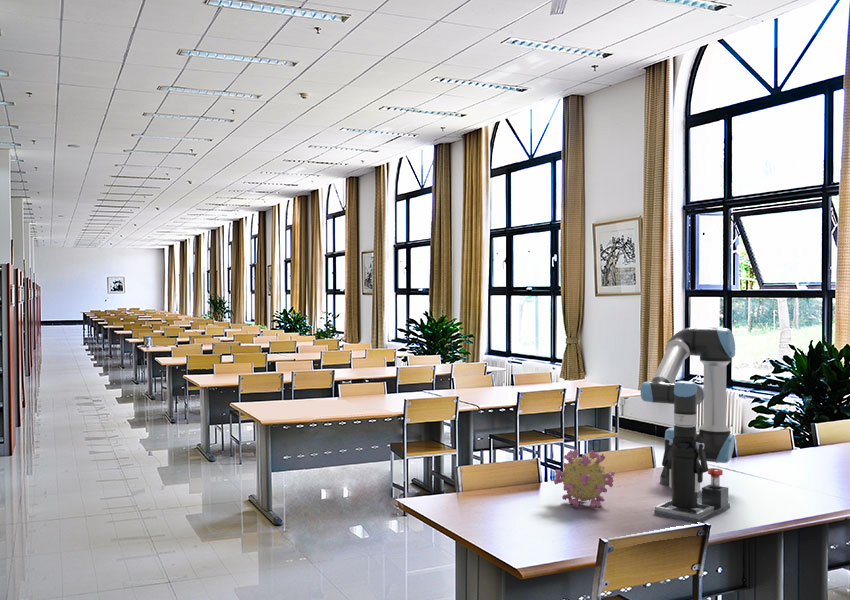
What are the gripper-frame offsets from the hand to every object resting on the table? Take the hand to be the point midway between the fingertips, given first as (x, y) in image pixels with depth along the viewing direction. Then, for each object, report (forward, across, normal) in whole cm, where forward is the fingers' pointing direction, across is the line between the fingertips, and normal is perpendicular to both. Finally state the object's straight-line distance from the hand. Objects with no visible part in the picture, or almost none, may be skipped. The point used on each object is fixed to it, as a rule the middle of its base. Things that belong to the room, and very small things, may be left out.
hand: (684, 489), depth 271 cm
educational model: (+9, -32, -15) cm, 36 cm away
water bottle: (+6, 0, 0) cm, 6 cm away
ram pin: (+3, +5, +15) cm, 16 cm away
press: (+9, 0, +6) cm, 11 cm away
